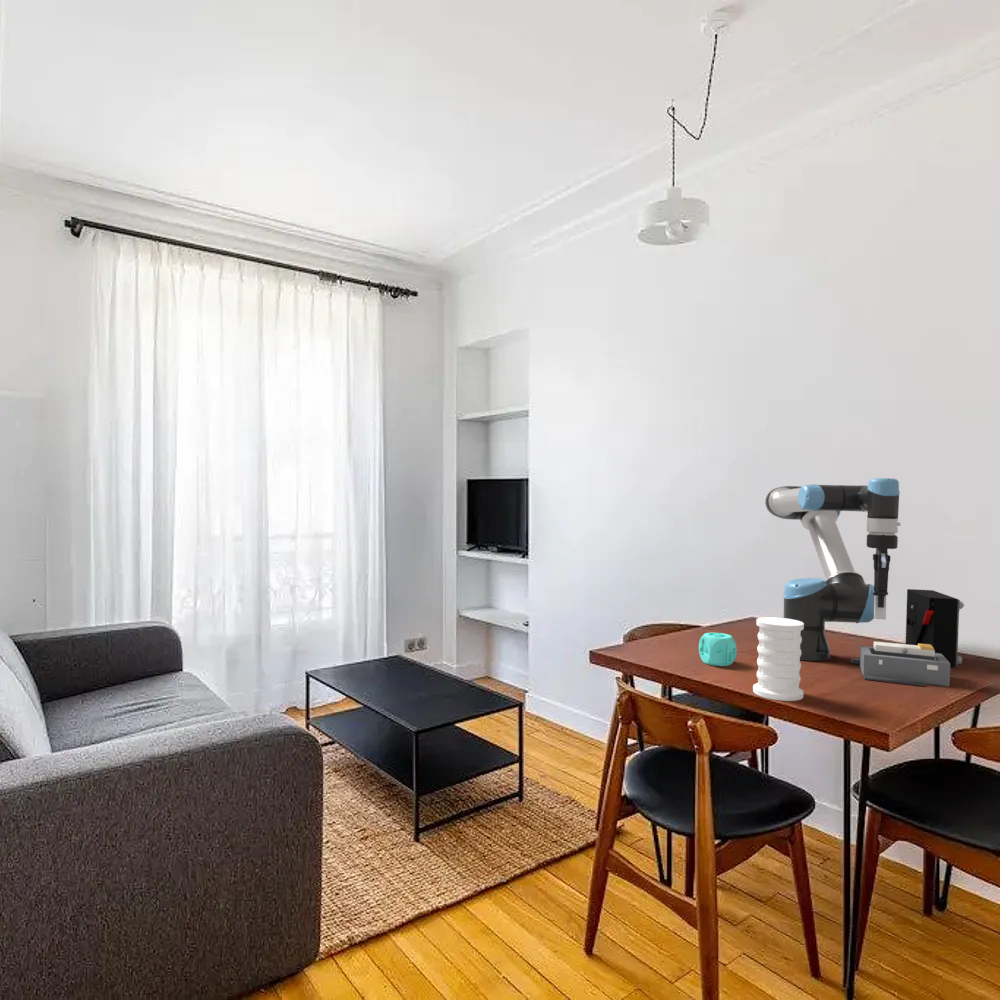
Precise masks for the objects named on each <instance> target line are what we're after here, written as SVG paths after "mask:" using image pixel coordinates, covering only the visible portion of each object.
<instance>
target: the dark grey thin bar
mask: <svg viewBox="0 0 1000 1000" xmlns="http://www.w3.org/2000/svg"><path fill="white" fill-rule="evenodd" d="M863 679H864V680H867V681H876V682H881V683H882V682H883V683H891V684H901V685H909V686H918V687H926V684H925V682H916V681H908V680H899V679H890V678H881V677H872V676H864V677H863Z"/></svg>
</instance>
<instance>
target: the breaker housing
mask: <svg viewBox="0 0 1000 1000" xmlns="http://www.w3.org/2000/svg"><path fill="white" fill-rule="evenodd" d="M859 649H860V650H859V651H860V653H859V659H860V664H859V668H860V670H861V671H860V672H861V673H862V676H863V678H864V676H872V677H881V678H890V679H899V680H908V681H916V682H925V685H926V684H927V685H934V686H942V687H950V683H951V682H950V681H951V667H950V663H949V661H948V660H947V659H946V658H945V657H944V656H943V655H942V654H940V653H935V657H933V656H923V655H913V654H903V653H893V652H883V651H875V649H874V646H866V645H860V648H859Z"/></svg>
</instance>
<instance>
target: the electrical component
mask: <svg viewBox="0 0 1000 1000" xmlns="http://www.w3.org/2000/svg"><path fill="white" fill-rule="evenodd" d="M906 590H907V591H906V617H905V618H906V620H905V644H907V645H917V646H918V643H919V644H930V645H931V646H932V647H933V648H934V650H935V653H940V654H942V655H943V656H944V657H945V658H946V659H947V660H948V661H949V663H950V668H952V667H956V668H958V667H959V666H958V665H959V664H962V662H963V658H962V656H960V655H959V653H958V651H959V627H960V625H959V621H960V610H961V609H963V608H964V607H965V605H964V604H965V603H964V602H963V601H961V600H960V599H959V598H956V597H953V596H950V595H948V594H945V593H942V592H938V591H937V590H931V589H916V588H915V589H913V588H912V589H911V588H910V589H909V588H908V589H906Z"/></svg>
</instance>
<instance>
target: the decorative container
mask: <svg viewBox="0 0 1000 1000" xmlns="http://www.w3.org/2000/svg"><path fill="white" fill-rule="evenodd" d="M755 625H756V626H757V627H758V628H759V630H758V633H757V640H758V645H757V647H756V648H757V649H756V650H757V653H758V657H757V660H756V664H757V666H758V667H757V669H758V670H756V678H757V682H756V683H754V684H753V685H752V692H753V693H754V694H755V695H757V696H758V697H761V698H764V699H768V700H773V701H780V702H781V701H783V702H796V701H801V700H802V699H803V698H804V690H803V689H802V688H800V683H801V680H802V678H801V675H800V670H801V668H802V663H801V660H800V657H801V649H800V644H801V642H802V638H801V636H800V633H801V630H803V629H804V623H803V622H801V621H797V620H793V619H787V618H784V617H775V616H774V617H772V616H771V617H770V616H769V617H758V618H756V624H755Z"/></svg>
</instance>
